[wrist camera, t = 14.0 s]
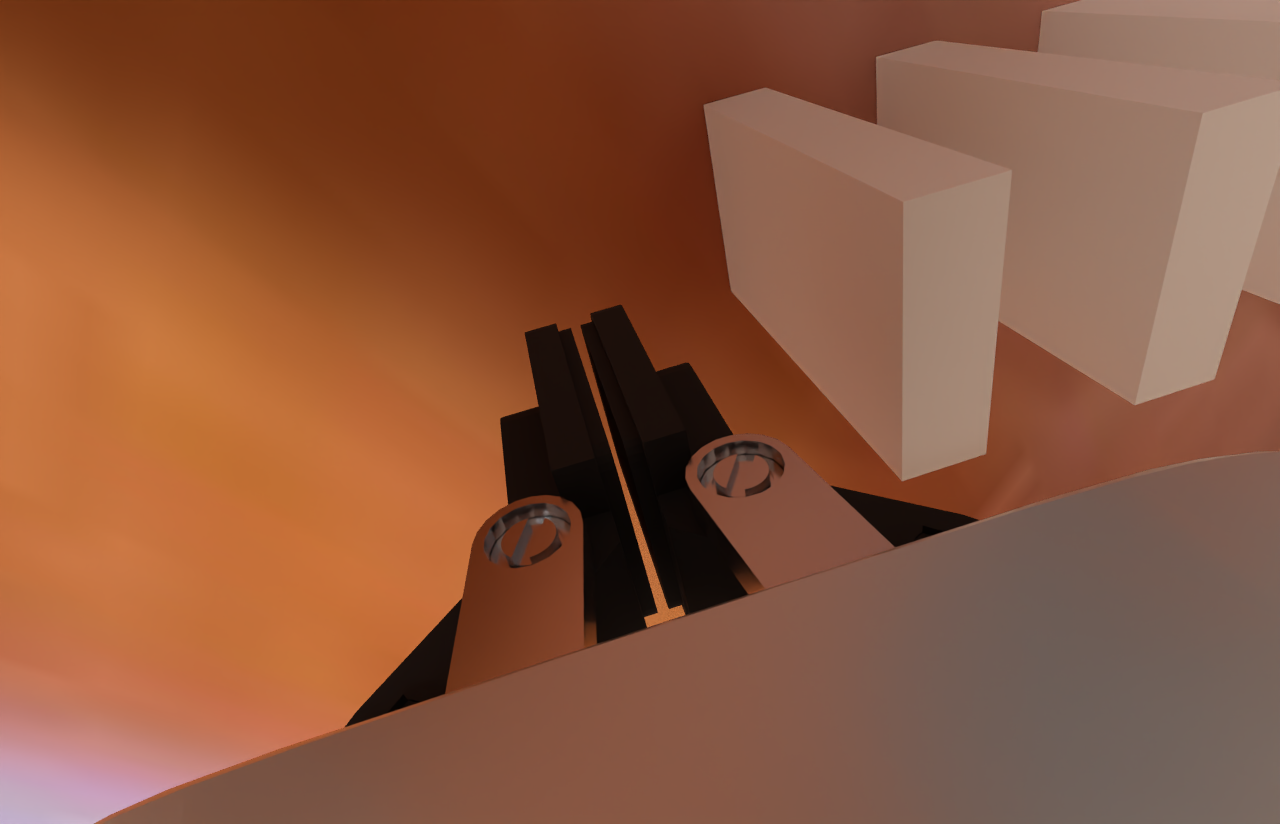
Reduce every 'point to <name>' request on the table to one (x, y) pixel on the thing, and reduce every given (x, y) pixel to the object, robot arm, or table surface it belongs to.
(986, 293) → the tile
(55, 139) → the table surface
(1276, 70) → the tile
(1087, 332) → the tile
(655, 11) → the table surface
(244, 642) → the table surface
